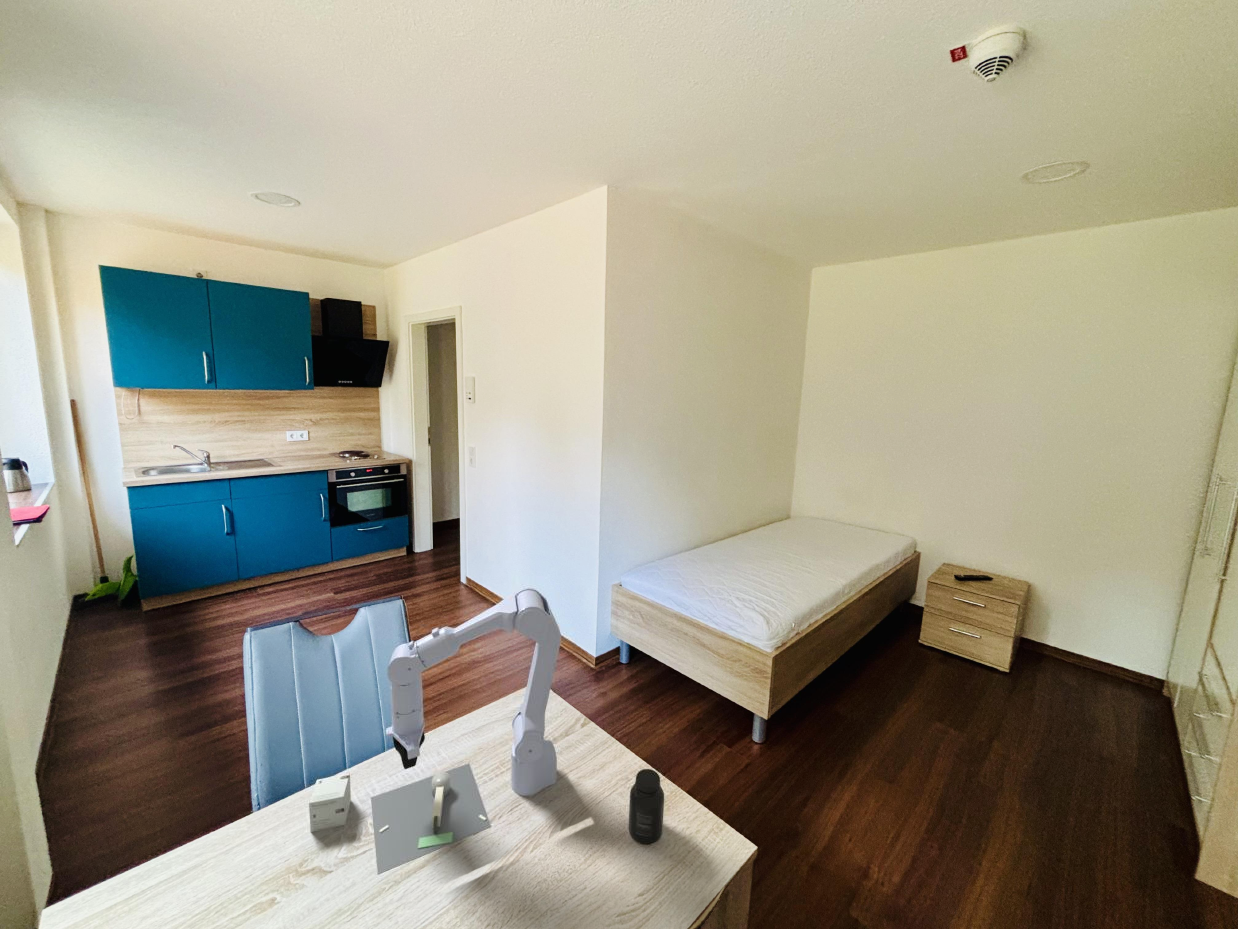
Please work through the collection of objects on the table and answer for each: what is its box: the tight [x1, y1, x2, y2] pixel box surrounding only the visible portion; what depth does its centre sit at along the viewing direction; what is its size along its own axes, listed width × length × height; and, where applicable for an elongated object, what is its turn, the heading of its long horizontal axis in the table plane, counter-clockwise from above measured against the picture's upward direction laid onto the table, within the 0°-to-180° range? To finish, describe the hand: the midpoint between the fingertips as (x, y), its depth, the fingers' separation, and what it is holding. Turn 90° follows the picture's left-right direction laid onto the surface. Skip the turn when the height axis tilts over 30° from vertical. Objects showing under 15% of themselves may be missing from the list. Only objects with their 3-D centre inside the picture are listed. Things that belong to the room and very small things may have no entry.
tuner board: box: [370, 763, 492, 875], centre depth 98 cm, size 20×18×1 cm
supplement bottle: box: [628, 768, 665, 846], centre depth 96 cm, size 7×7×12 cm
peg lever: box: [432, 771, 450, 834], centre depth 99 cm, size 12×4×3 cm, turn 14°
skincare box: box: [308, 773, 352, 833], centre depth 96 cm, size 6×6×7 cm
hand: (409, 765), depth 99 cm, fingers closed
